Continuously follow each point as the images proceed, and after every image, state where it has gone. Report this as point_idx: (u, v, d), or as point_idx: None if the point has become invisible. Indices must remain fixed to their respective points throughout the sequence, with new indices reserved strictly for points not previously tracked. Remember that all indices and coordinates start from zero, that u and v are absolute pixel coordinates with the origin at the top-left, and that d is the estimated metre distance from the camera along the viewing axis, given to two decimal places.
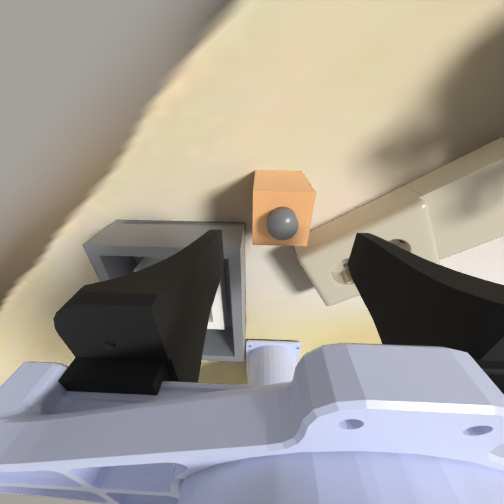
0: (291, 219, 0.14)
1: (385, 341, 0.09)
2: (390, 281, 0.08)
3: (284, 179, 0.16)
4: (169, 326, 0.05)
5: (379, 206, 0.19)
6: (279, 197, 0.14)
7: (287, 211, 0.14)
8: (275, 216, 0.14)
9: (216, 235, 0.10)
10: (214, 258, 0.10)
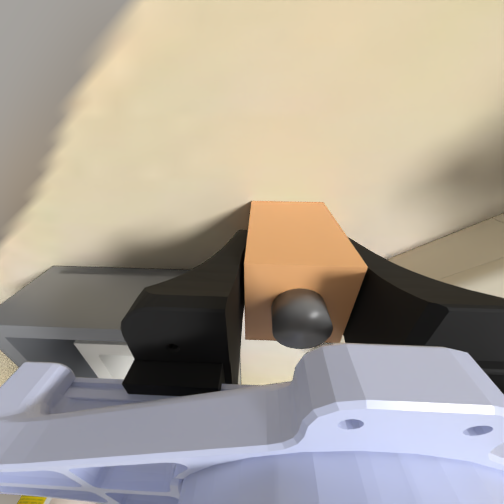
0: (320, 320, 0.07)
1: (347, 339, 0.09)
2: None
3: (300, 224, 0.10)
4: (230, 328, 0.05)
5: (456, 252, 0.12)
6: (295, 274, 0.07)
7: (312, 305, 0.07)
8: (288, 315, 0.07)
9: None
10: None
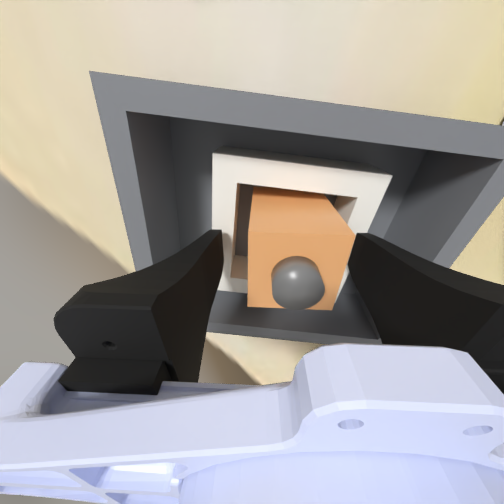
0: (314, 281, 0.08)
1: (385, 341, 0.09)
2: (390, 281, 0.08)
3: (298, 204, 0.11)
4: (169, 326, 0.05)
5: None
6: (292, 242, 0.08)
7: (307, 268, 0.08)
8: (286, 276, 0.08)
9: (216, 235, 0.10)
10: (214, 258, 0.10)
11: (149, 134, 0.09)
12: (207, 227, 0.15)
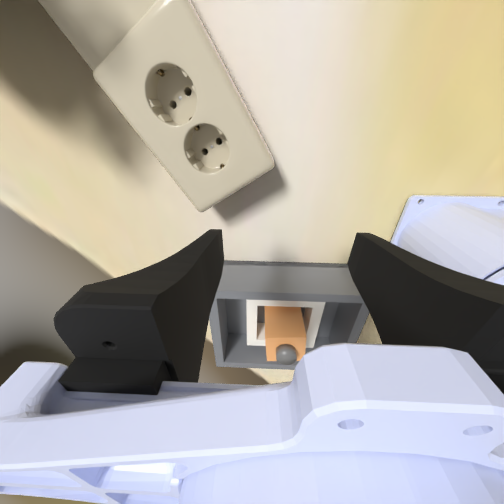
0: (291, 356, 0.21)
1: (385, 341, 0.09)
2: (390, 281, 0.08)
3: (285, 312, 0.23)
4: (169, 326, 0.05)
5: None
6: (282, 340, 0.21)
7: (288, 351, 0.21)
8: (281, 354, 0.21)
9: (216, 235, 0.10)
10: (214, 258, 0.10)
11: None
12: (241, 311, 0.28)
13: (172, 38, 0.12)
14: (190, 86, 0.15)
